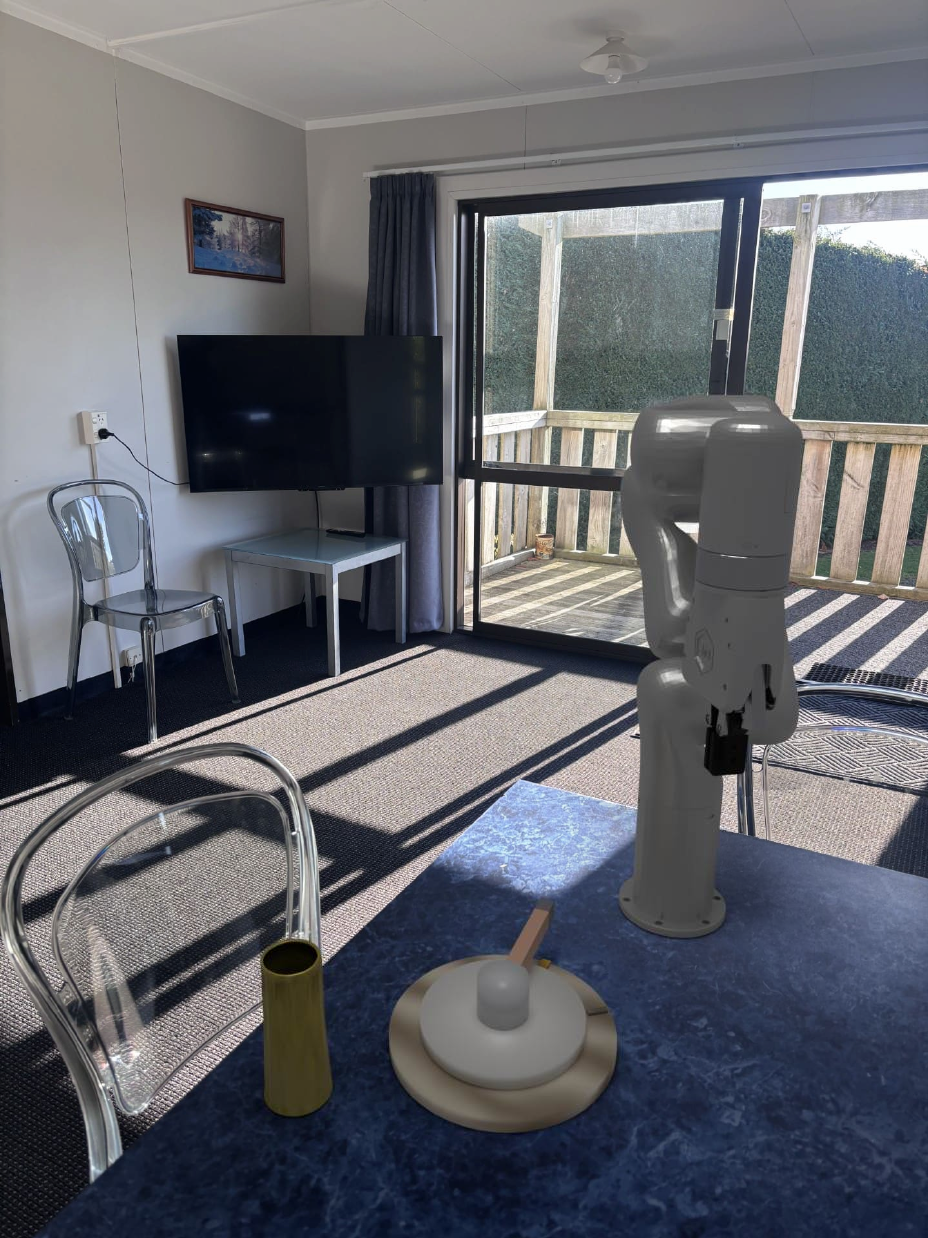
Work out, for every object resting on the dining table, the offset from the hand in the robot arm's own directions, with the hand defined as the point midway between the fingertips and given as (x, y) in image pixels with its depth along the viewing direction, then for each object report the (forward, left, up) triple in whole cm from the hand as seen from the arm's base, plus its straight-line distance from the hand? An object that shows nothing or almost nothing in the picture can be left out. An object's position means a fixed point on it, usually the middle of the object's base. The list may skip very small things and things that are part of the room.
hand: (723, 770), depth 80 cm
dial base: (+9, -17, -29) cm, 35 cm away
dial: (+6, -17, -27) cm, 33 cm away
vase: (+24, -30, -29) cm, 48 cm away
